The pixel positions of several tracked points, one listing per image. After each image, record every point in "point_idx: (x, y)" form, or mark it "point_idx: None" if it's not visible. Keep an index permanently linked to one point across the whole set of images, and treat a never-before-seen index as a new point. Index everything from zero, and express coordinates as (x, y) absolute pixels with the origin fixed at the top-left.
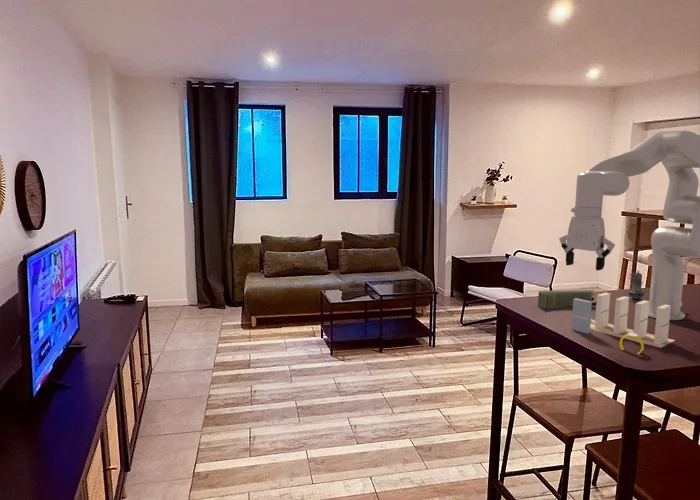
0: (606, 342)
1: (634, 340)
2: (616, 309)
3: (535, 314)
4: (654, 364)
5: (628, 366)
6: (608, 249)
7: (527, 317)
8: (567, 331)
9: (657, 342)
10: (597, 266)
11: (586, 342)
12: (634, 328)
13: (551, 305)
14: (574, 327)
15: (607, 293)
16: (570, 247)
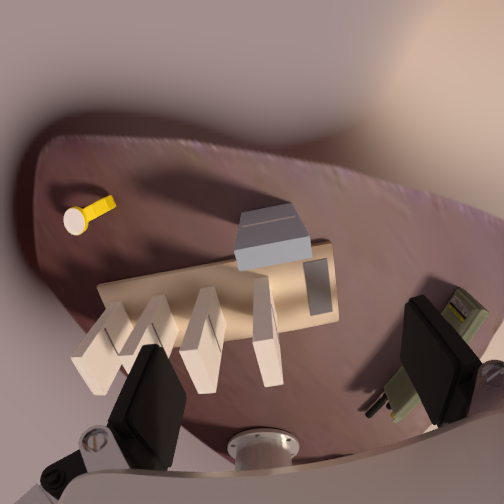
0: (179, 219)
1: (147, 280)
2: (198, 326)
3: (442, 238)
4: (48, 201)
5: (56, 140)
6: (47, 494)
7: (440, 196)
8: (299, 195)
9: (113, 304)
10: (138, 362)
11: (202, 168)
12: (155, 308)
13: (444, 314)
14: (283, 208)
15: (269, 380)
16: (475, 416)
